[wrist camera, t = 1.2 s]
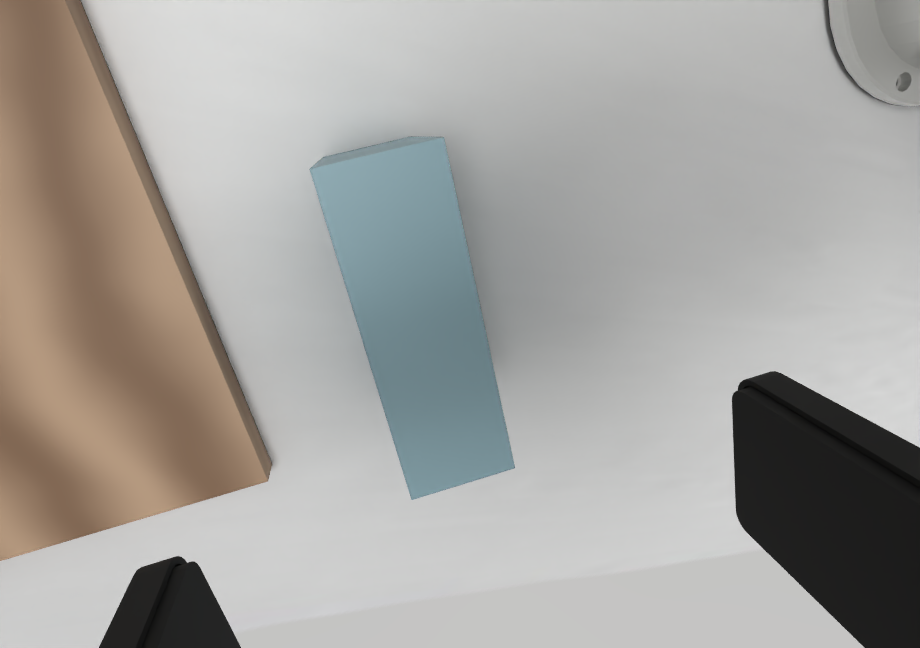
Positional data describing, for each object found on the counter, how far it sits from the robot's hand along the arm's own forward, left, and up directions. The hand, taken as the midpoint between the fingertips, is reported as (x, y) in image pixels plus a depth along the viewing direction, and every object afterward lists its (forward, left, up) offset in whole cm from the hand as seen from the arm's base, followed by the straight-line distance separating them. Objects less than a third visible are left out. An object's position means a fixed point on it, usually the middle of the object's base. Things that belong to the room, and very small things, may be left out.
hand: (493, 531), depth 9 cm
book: (0, 0, -18) cm, 18 cm away
